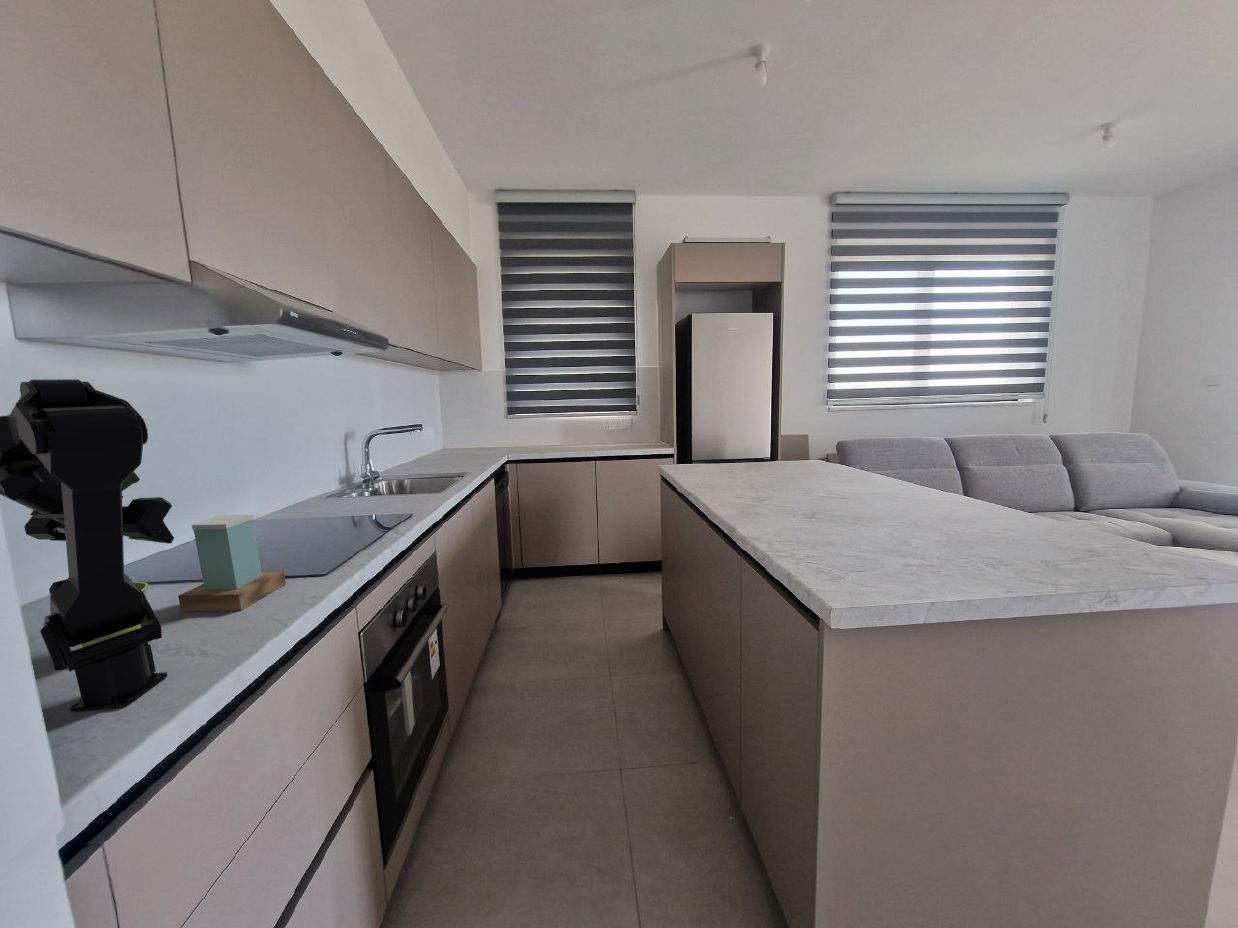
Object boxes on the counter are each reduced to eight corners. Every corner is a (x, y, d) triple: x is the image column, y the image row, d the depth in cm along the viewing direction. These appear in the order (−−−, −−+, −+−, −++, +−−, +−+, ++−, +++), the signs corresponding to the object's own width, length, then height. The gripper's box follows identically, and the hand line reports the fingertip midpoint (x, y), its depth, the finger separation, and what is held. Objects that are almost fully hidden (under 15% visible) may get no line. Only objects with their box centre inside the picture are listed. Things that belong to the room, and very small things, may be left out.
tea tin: (237, 589, 85) (225, 524, 83) (203, 589, 85) (191, 525, 83) (263, 575, 91) (253, 514, 89) (231, 575, 91) (221, 515, 89)
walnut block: (241, 610, 83) (238, 594, 83) (181, 611, 83) (178, 595, 83) (285, 584, 94) (283, 570, 94) (232, 585, 94) (230, 571, 94)
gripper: (148, 447, 72) (221, 499, 85) (30, 450, 72) (121, 502, 85) (102, 510, 65) (189, 557, 78) (-27, 513, 66) (81, 559, 79)
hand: (145, 541), depth 80 cm, fingers open, 9 cm apart
